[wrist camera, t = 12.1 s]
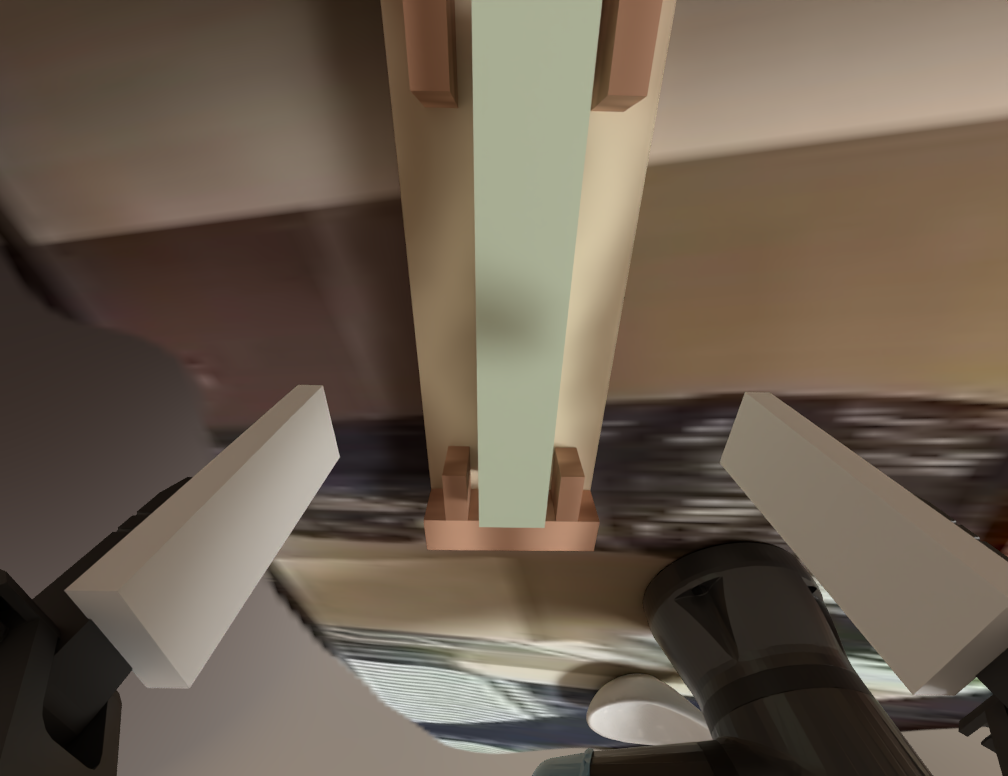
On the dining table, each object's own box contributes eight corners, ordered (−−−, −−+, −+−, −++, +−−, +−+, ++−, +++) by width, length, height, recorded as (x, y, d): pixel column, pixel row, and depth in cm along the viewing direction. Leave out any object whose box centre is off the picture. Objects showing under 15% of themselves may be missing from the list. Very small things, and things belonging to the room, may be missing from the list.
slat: (575, 30, 15) (606, -38, 11) (537, 472, 26) (544, 527, 22) (479, 27, 15) (470, -43, 11) (482, 471, 26) (479, 527, 22)
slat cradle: (683, -104, 14) (748, -209, 10) (582, 506, 30) (593, 551, 26) (376, -114, 14) (331, -224, 10) (436, 505, 30) (427, 549, 26)
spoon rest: (587, 710, 48) (599, 788, 42) (575, 665, 43) (588, 748, 36) (774, 690, 46) (817, 770, 39) (787, 640, 40) (840, 724, 34)
